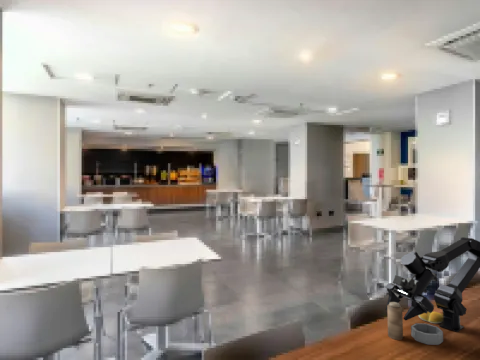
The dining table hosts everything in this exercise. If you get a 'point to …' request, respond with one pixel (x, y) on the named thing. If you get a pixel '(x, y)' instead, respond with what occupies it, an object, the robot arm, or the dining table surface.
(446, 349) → the dining table surface
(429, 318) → the bread roll
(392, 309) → the pepper mill
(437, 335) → the bin
